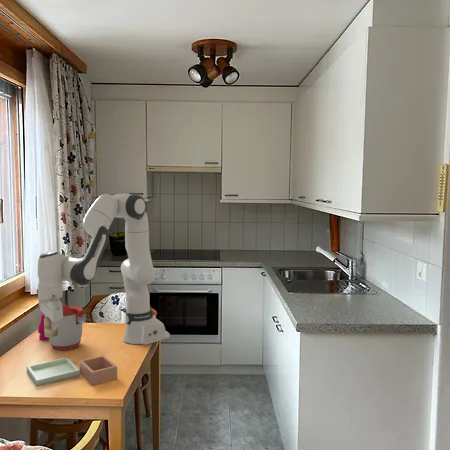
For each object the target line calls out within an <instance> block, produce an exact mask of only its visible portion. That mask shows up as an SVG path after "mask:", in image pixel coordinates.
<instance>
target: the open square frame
mask: <svg viewBox="0 0 450 450" xmlns="http://www.w3.org/2000/svg"><path fill="white" fill-rule="evenodd" d="M78 363H79V370H80V375H81V376H82V377H83V378H84V379H85V380H86V381H87V382H88V383H89V384H90V386H95V385H96V386H97V385H100V384H103V383H107V382H111V381H115V380H117V379H118V366H117V365H116V363H114V362H113V361H111V360H110V359H109V358H108V357H107V356H105V355H98V356H93V357H90V358H86V359H85V358H84V359H81V360H79V362H78Z"/></svg>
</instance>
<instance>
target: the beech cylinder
mask: <svg viewBox="0 0 450 450" xmlns="http://www.w3.org/2000/svg"><path fill="white" fill-rule="evenodd" d="M44 334H45V337H55V336H57V335H58V322H57V329H56V330H52V329H51V320H50V319H49V318H48V317H45V318H44Z"/></svg>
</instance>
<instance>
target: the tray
mask: <svg viewBox="0 0 450 450" xmlns="http://www.w3.org/2000/svg"><path fill="white" fill-rule="evenodd" d="M26 373H27V375H28V376H29V378H30V379H31V380H32V382H33V383H34V384H35V386H36V387H41V386H45V385H49V384H53V383H57V382H60V381H64V380H65V381H66V380H69V379H72V378H73V379H74V378H77V377H80V375H81V374H80V368H78V367H77V366H76V365H75V364H74V363H73V362H72V361H71V359H69V358H68V357H63V358H59V359H53V360H48V361H43V362H40V363H35V364H31V365H26Z"/></svg>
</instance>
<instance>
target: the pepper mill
mask: <svg viewBox="0 0 450 450" xmlns="http://www.w3.org/2000/svg"><path fill="white" fill-rule="evenodd" d="M38 310H39V315H40V322H39V325H38V329H37V332H38V334H39V338H38V339H39V340H40V341H44V342H45V341H50V340H49V337H45V334H44V318H45V314H44V313H43V312H41V311H40V307H39V306H38Z"/></svg>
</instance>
